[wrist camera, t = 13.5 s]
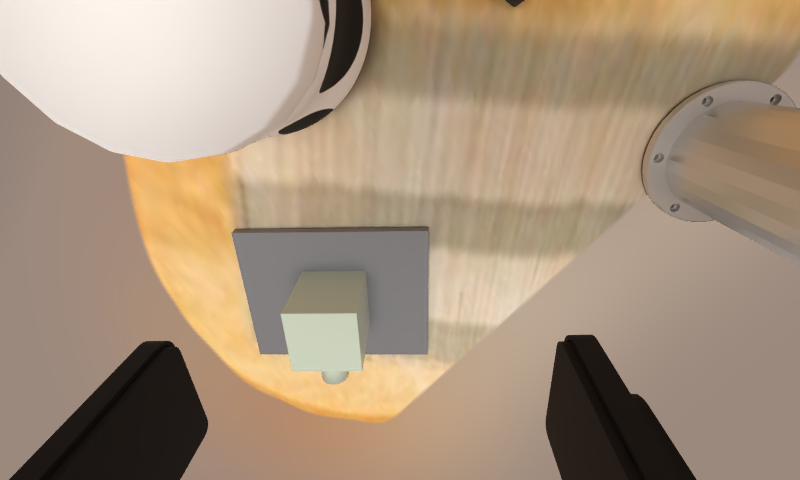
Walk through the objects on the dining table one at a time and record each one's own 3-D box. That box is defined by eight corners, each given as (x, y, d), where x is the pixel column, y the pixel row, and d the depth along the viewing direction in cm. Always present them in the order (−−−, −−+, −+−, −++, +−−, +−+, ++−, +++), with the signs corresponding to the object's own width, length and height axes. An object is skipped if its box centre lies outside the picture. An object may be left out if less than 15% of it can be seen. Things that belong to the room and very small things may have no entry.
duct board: (428, 226, 39) (430, 254, 34) (427, 348, 46) (429, 387, 41) (235, 229, 40) (208, 256, 34) (263, 348, 47) (244, 386, 41)
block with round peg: (302, 271, 41) (280, 313, 34) (365, 270, 40) (356, 313, 34) (313, 344, 45) (296, 395, 38) (371, 344, 45) (364, 395, 38)
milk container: (159, 89, 34) (-70, 121, 18) (168, -163, 27) (-203, -494, 11) (347, 149, 36) (293, 228, 20) (404, -71, 29) (393, -232, 12)
